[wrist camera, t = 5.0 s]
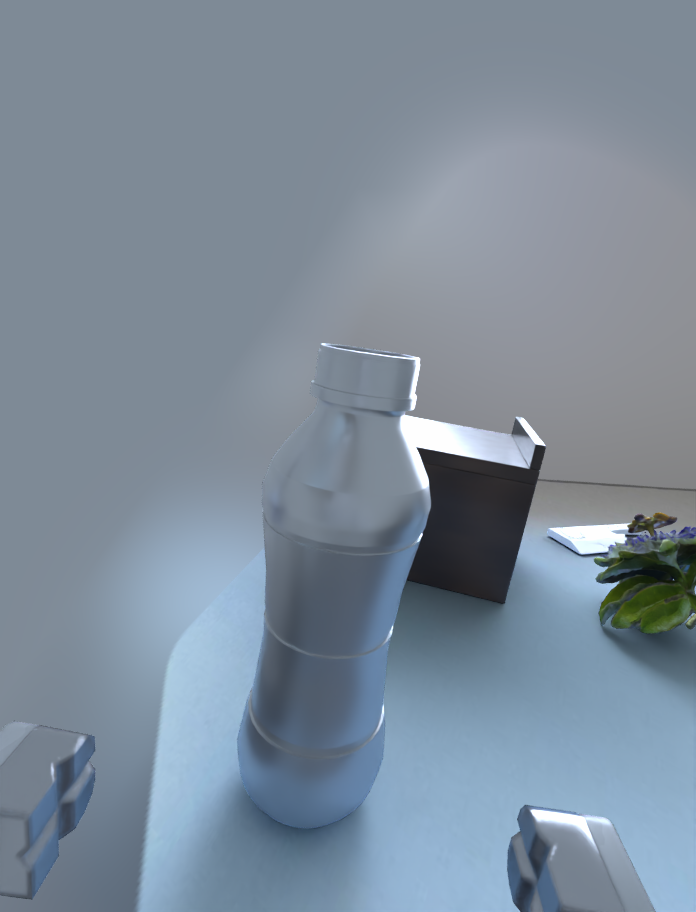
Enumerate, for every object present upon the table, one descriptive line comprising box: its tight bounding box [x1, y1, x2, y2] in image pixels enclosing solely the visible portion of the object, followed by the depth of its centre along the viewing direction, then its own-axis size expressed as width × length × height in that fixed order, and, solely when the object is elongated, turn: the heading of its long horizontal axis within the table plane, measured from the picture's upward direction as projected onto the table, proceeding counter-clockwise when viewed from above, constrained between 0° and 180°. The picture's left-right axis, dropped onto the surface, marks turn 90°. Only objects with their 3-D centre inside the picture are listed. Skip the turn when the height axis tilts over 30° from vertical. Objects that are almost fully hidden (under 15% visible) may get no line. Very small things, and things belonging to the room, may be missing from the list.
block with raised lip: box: [405, 416, 546, 604], centre depth 46 cm, size 14×14×14 cm
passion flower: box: [594, 513, 696, 634], centre depth 40 cm, size 11×11×12 cm
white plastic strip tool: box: [547, 524, 643, 555], centre depth 57 cm, size 5×15×1 cm, turn 112°
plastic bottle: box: [237, 344, 431, 829], centre depth 20 cm, size 6×7×20 cm
